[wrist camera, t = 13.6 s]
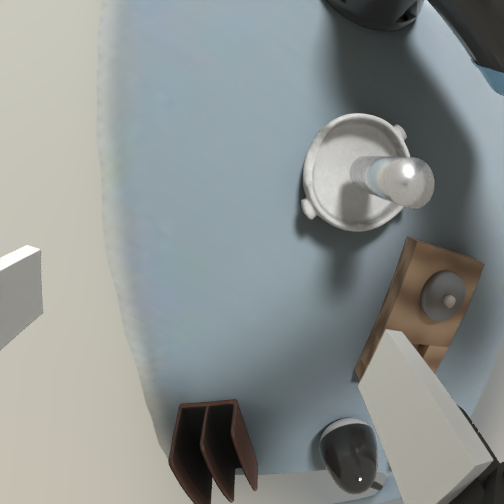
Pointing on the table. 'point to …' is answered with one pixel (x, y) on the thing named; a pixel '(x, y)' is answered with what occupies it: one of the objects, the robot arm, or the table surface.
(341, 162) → the dish
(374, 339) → the plate
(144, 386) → the table surface
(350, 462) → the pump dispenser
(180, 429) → the letter holder
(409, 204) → the pin
